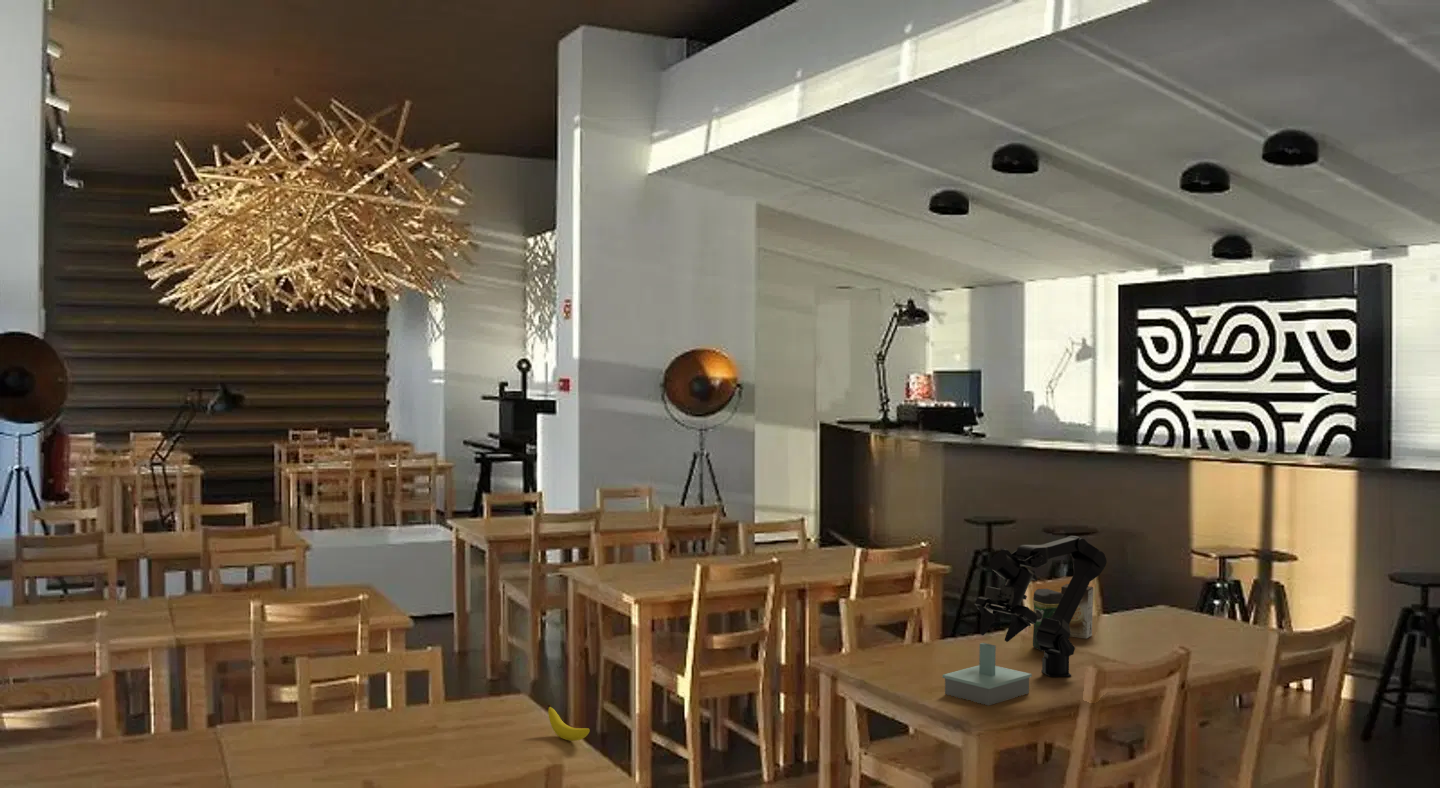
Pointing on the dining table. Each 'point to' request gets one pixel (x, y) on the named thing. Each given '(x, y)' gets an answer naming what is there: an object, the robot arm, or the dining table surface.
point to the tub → (986, 691)
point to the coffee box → (1082, 615)
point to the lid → (987, 671)
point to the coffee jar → (1044, 607)
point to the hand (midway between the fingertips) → (993, 638)
